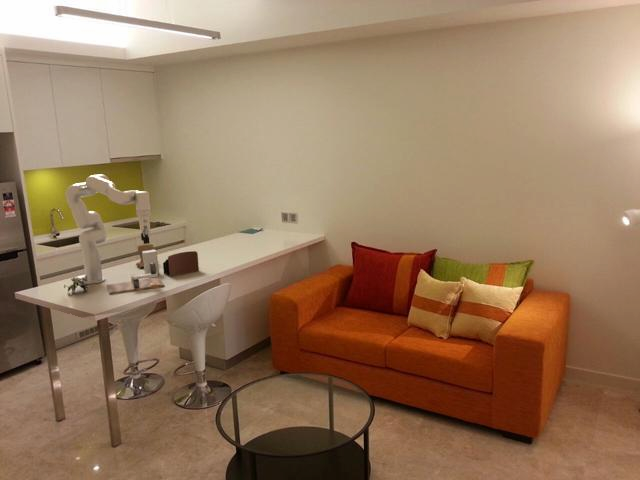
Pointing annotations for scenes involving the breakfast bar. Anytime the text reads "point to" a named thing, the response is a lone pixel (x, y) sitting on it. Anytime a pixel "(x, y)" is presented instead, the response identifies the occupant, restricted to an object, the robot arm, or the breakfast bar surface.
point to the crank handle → (152, 274)
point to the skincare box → (150, 260)
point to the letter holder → (181, 263)
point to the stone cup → (140, 249)
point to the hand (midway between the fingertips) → (145, 241)
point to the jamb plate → (130, 286)
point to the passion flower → (78, 282)
